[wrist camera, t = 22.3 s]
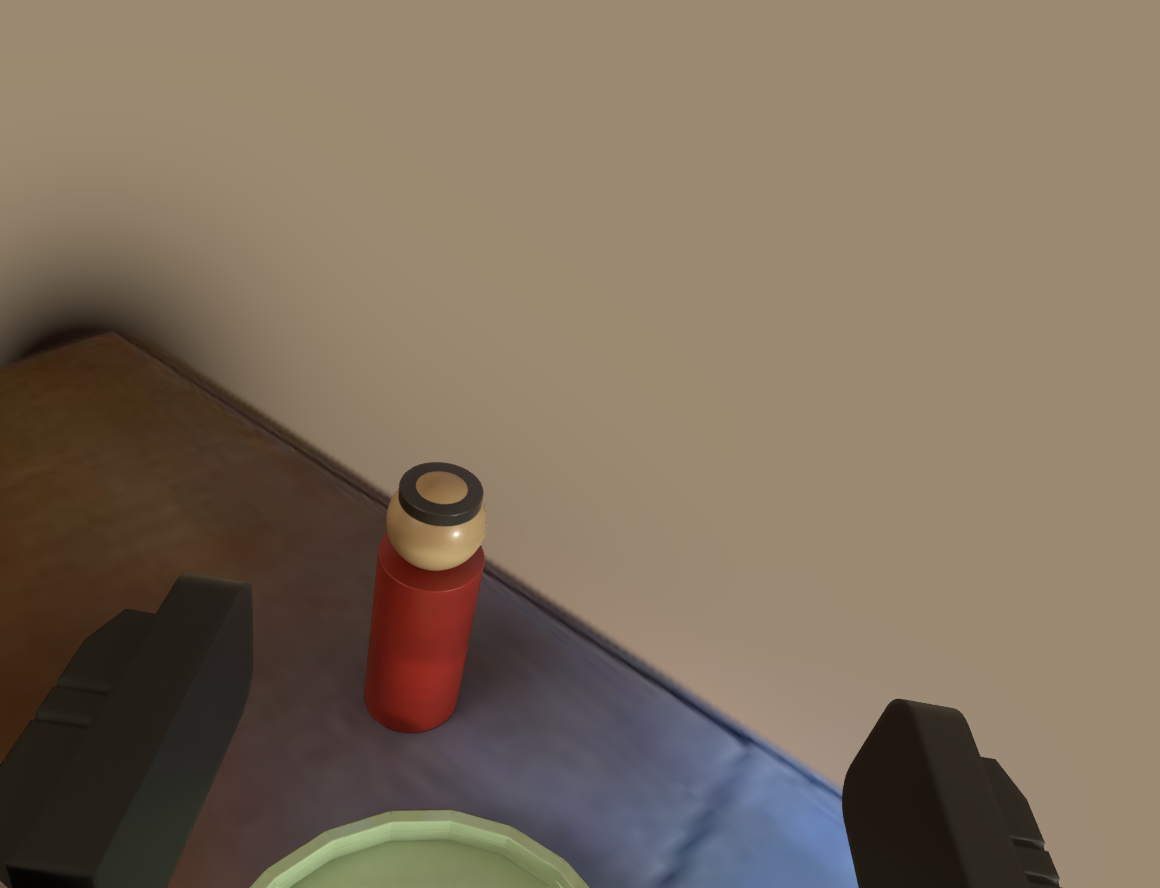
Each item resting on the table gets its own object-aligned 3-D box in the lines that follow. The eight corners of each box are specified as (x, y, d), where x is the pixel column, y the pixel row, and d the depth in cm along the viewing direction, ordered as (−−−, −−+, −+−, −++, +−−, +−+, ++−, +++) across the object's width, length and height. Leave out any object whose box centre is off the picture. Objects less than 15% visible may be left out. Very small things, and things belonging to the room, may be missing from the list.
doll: (344, 701, 45) (361, 484, 37) (402, 643, 48) (430, 434, 40) (421, 750, 43) (457, 535, 35) (475, 686, 47) (519, 479, 39)
